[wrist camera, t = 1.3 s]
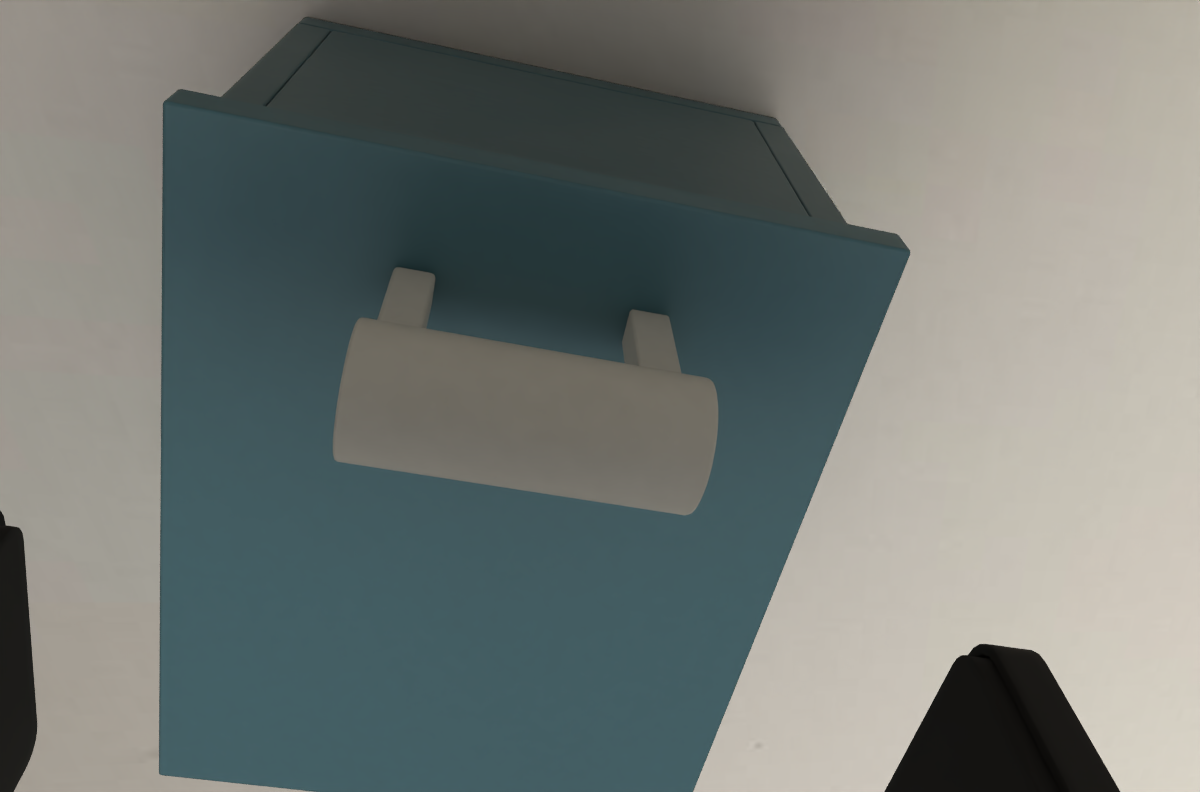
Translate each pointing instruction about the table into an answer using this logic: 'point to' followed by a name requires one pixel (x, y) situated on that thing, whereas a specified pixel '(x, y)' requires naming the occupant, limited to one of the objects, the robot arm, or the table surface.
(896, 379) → the table surface
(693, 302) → the door
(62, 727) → the table surface
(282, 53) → the teal open container
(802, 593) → the table surface
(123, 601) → the table surface
